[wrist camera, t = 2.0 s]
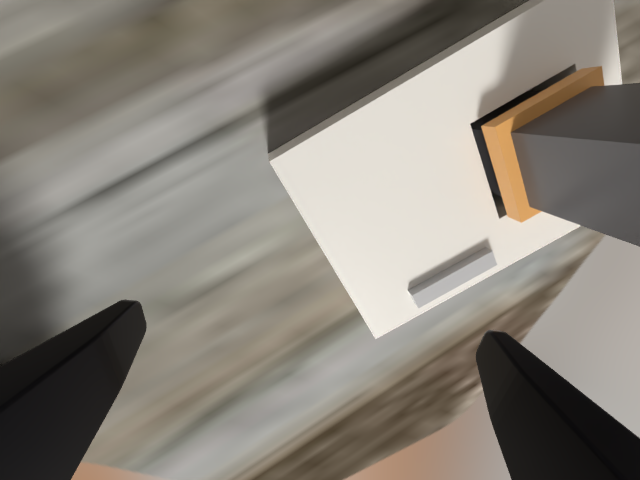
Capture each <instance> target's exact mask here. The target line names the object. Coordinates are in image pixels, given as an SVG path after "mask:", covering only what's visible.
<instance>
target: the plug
mask: <svg viewBox="0 0 640 480" xmlns="http://www.w3.org/2000/svg"><path fill="white" fill-rule="evenodd" d="M470 125H471V128H472V131H473V135H474V138H475V141H476V144H477V148H478V151H479V154H480V158H481V161H482V164H483V167H484V171H485V174H486V177H487V180H488V184H489V187H490V190H491V193H492V194H495V195H498V196H501V197H502V199H503V202H504V206H505V209H506V213H507V216H508V217H509V218H512V219H514V220H516V221H519V222H521V223H522V222H524V221H526V220H527V219H529V218H531V217H533V216H535V215H536V214H538V213H540V212H545V213H548V214H551V215H553V216H556V217H559V218H562V219H565V220H567V221H570V222H573V223H576V224H578V225H581V226H584V227H587V228H590V229H592V230H595V231H598V232H601V233H603V234H606V235H609V236H612V237H615V238H617V239H620V240H623V241H626V242H629V243H631V244H634V245H637V246H640V83H633V84H620V85H606V86H604V78H603V70H602V66H598V67H590V68H582V69H580V70H578V71H576V72H574V73H573V74H571V75H569V76H567V77H566V78H564V79H562V80H561V81H559V82H557V83H555V84H554V85H552V86H550V87H548V88H547V89H545V90H537V91H526V92H525V93H523V94H521V95H519V96H518V97H516V98H514V99H512V100H511V101H509V102H507V103H505V104H504V105H502V106H500V107H498V108H497V109H495V110H493V111H492V112H490V113H488V114H486V115H485V116H483V117H481V118H479V119H478V120H476V121H474V122H472V123H471V124H470Z"/></svg>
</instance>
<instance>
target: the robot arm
mask: <svg viewBox="0 0 640 480" xmlns="http://www.w3.org/2000/svg"><path fill="white" fill-rule="evenodd" d="M145 332H146V320H145V317H144V313H143V310H142V306H141V304H140V302H138V301H134V300H121V301H119V302H117V303H115V304H113V305H111V306H110V307H108V308H106V309H104V310H102V311H100V312H99V313H97V314H95V315H93V316H91V317H89V318H88V319H86V320H84V321H82V322H80V323H79V324H77V325H75V326H73V327H71V328H69V329H68V330H66V331H64V332H62V333H60V334H58V335H57V336H55V337H53V338H51V339H49V340H47V341H46V342H44V343H42V344H40V345H38V346H36V347H35V348H33V349H31V350H29V351H27V352H26V353H24V354H22V355H20V356H18V357H16V358H15V359H13V360H11V361H9V362H7V363H5V364H4V365H2V366H0V480H71V478H72V476H73V475H74V473H75V471H76V469H77V467H78V466H79V464H80V462H81V460H82V458H83V457H84V455H85V453H86V451H87V449H88V448H89V446H90V444H91V442H92V440H93V439H94V437H95V435H96V433H97V431H98V430H99V428H100V426H101V424H102V422H103V421H104V419H105V417H106V415H107V413H108V412H109V410H110V408H111V406H112V404H113V403H114V401H115V399H116V397H117V395H118V393H119V391H120V390H121V388H122V385H123V383H124V381H125V379H126V377H127V374H128V372H129V370H130V367H131V365H132V363H133V360H134V358H135V356H136V353H137V351H138V349H139V346H140V344H141V342H142V339H143V337H144V335H145ZM476 362H477V366H478V370H479V374H480V378H481V383H482V387H483V391H484V395H485V399H486V403H487V407H488V411H489V415H490V419H491V422H492V425H493V428H494V431H495V434H496V437H497V439H498V442H499V445H500V448H501V451H502V454H503V456H504V459H505V462H506V464H507V468H508V471H509V473H510V476H511V479H512V480H640V438H639V437H637V436H636V435H635V434H634V433H632V432H631V431H630V430H628V429H627V428H626V427H625V426H624V425H622V424H621V423H620V422H618V421H617V420H616V419H614V418H613V417H612V416H611V415H610V414H608V413H607V412H606V411H604V410H603V409H602V408H601V407H599V406H598V405H597V404H596V403H594V402H593V401H592V400H591V399H589V398H588V397H587V396H585V395H584V394H583V393H582V392H581V391H579V390H578V389H577V388H575V387H574V386H573V385H572V384H570V383H569V382H568V381H567V380H565V379H564V378H563V377H561V376H560V375H559V374H558V373H556V372H555V371H554V370H553V369H551V368H550V367H549V366H548V365H546V364H545V363H544V362H542V361H541V360H540V359H539V358H538V357H536V356H535V355H534V354H532V353H531V352H530V351H529V350H527V349H526V348H525V347H523V346H522V345H521V344H520V343H519V342H517V341H516V340H515V339H513V338H512V337H511V336H510V335H508V334H507V333H506V332H504V331H496V330H488V331H486V332H485V334H484V336H483V338H482V340H481V342H480V345H479V347H478V349H477V352H476Z"/></svg>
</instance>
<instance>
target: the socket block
mask: <svg viewBox="0 0 640 480" xmlns="http://www.w3.org/2000/svg"><path fill="white" fill-rule="evenodd" d="M598 66H602V70H603V78H604V86H606V85H620V84H622V78H621V68H620V58H619V48H618V39H617V29H616V19H615V9H614V0H529V1H527V2H525V3H524V4H522V5H520V6H519V7H517V8H515V9H513V10H512V11H510V12H508V13H507V14H505V15H503V16H501V17H500V18H498V19H496V20H495V21H493V22H491V23H490V24H488V25H486V26H484V27H483V28H481V29H479V30H478V31H476V32H474V33H473V34H471V35H469V36H467V37H466V38H464V39H462V40H461V41H459V42H457V43H456V44H454V45H452V46H450V47H449V48H447V49H445V50H444V51H442V52H440V53H439V54H437V55H435V56H433V57H432V58H430V59H428V60H427V61H425V62H423V63H421V64H420V65H418V66H416V67H415V68H413V69H411V70H410V71H408V72H406V73H404V74H403V75H401V76H399V77H398V78H396V79H394V80H393V81H391V82H389V83H387V84H386V85H384V86H382V87H381V88H379V89H377V90H376V91H374V92H372V93H370V94H369V95H367V96H365V97H364V98H362V99H360V100H359V101H357V102H355V103H353V104H352V105H350V106H348V107H347V108H345V109H343V110H341V111H340V112H338V113H336V114H335V115H333V116H331V117H330V118H328V119H326V120H324V121H323V122H321V123H319V124H318V125H316V126H314V127H313V128H311V129H309V130H307V131H306V132H304V133H302V134H301V135H299V136H297V137H296V138H294V139H292V140H290V141H289V142H287V143H285V144H284V145H282V146H280V147H279V148H277V149H275V150H273V151H272V152H270V153H268V156H269V162H270V164H271V165H272V167H273V169H274V170H275V172H276V174H277V175H278V177H279V179H280V180H281V182H282V184H283V185H284V187H285V189H286V190H287V192H288V194H289V195H290V197H291V199H292V200H293V202H294V204H295V205H296V207H297V209H298V210H299V212H300V214H301V215H302V217H303V219H304V220H305V222H306V224H307V225H308V227H309V229H310V230H311V232H312V234H313V235H314V237H315V239H316V240H317V242H318V244H319V245H320V247H321V249H322V250H323V252H324V254H325V255H326V257H327V259H328V260H329V262H330V264H331V265H332V267H333V269H334V270H335V272H336V274H337V275H338V277H339V279H340V280H341V282H342V284H343V285H344V287H345V289H346V290H347V292H348V294H349V295H350V297H351V299H352V300H353V302H354V304H355V305H356V307H357V309H358V310H359V312H360V314H361V315H362V317H363V319H364V320H365V322H366V324H367V325H368V327H369V329H370V330H371V332H372V334H373V335H374V337H375V339H377V338H379V337H380V336H382V335H384V334H386V333H388V332H389V331H391V330H393V329H395V328H397V327H398V326H400V325H402V324H404V323H406V322H408V321H409V320H411V319H413V318H415V317H417V316H418V315H420V314H422V313H424V312H426V311H427V310H429V309H431V308H433V307H435V306H437V305H438V304H440V303H442V302H444V301H446V300H447V299H449V298H451V297H453V296H455V295H456V294H458V293H460V292H462V291H464V290H466V289H467V288H469V287H471V286H473V285H475V284H476V283H478V282H480V281H482V280H484V279H486V278H487V277H489V276H491V275H493V274H495V273H496V272H498V271H500V270H502V269H504V268H505V267H507V266H509V265H511V264H513V263H515V262H516V261H518V260H520V259H522V258H524V257H525V256H527V255H529V254H531V253H533V252H534V251H536V250H538V249H540V248H542V247H544V246H545V245H547V244H549V243H551V242H553V241H554V240H556V239H558V238H560V237H562V236H563V235H565V234H567V233H569V232H571V231H573V230H574V229H576V228H578V227H580V226H581V225H578V224H576V223H573V222H570V221H567V220H565V219H562V218H559V217H556V216H553V215H551V214H548V213H545V212H540V213H538V214H536V215H535V216H533V217H531V218H529V219H527V220H526V221H524V222H522V223H521V222H519V221H516V220H514V219H512V218H509V217H508V216H507V213H506V209H505V206H504V202H503V199H502V197H501V196H498V195H495V194H492V193H491V190H490V187H489V184H488V180H487V177H486V174H485V171H484V167H483V164H482V161H481V158H480V154H479V151H478V148H477V144H476V141H475V138H474V135H473V131H472V128H471V125H470V124H471V123H472V122H474V121H476V120H478V119H479V118H481V117H483V116H485V115H486V114H488V113H490V112H492V111H493V110H495V109H497V108H498V107H500V106H502V105H504V104H505V103H507V102H509V101H511V100H512V99H514V98H516V97H518V96H519V95H521V94H523V93H525V92H526V91H528V90H530V89H532V91H537V90H545V89H547V88H548V87H550V86H552V85H554V84H555V83H557V82H559V81H561V80H562V79H564V78H566V77H567V76H569V75H571V74H573V73H574V72H576V71H578V70H580V69H582V68H590V67H598Z"/></svg>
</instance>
